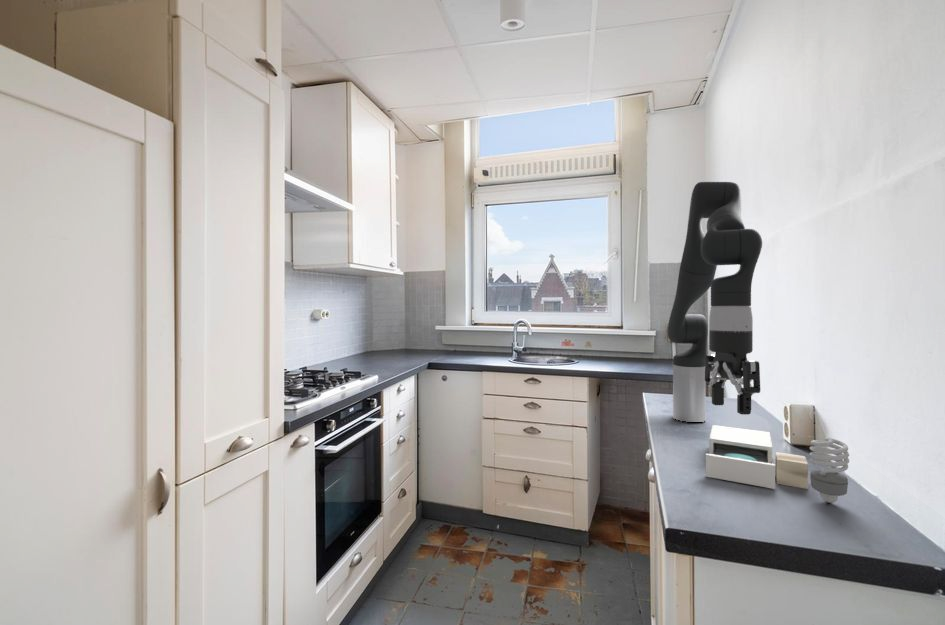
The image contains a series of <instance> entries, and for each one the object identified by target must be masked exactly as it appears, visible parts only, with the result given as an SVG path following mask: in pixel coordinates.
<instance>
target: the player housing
mask: <svg viewBox="0 0 945 625" xmlns="http://www.w3.org/2000/svg"><path fill="white" fill-rule="evenodd" d="M710 430H711V431H710V434H709V438H708V439H709V440H708V443H709V445H708V448H709V450H708V454H714V453H715V449H720V450H727V451H733V452H740V453H746V454H753V455H760V456H766V463H771V464H773V443H772V438H771V432H770V431H763V430H757V429H746V428H741V427H730V426H723V425H714V424H712V428H711V429H710Z"/></svg>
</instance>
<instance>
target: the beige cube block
mask: <svg viewBox="0 0 945 625" xmlns="http://www.w3.org/2000/svg"><path fill="white" fill-rule="evenodd" d="M808 463H809V462H808V460H807V458H806V456H805V455H799V454H792V453H786V452H785V453H784V452H777V451H776V452H775V463H774V464H775V483H776V484H777V485H782V486H786V487H787V486H789V487H794V488H799V489H805V490H808V489H809V485H808V484H809V464H808Z"/></svg>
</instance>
